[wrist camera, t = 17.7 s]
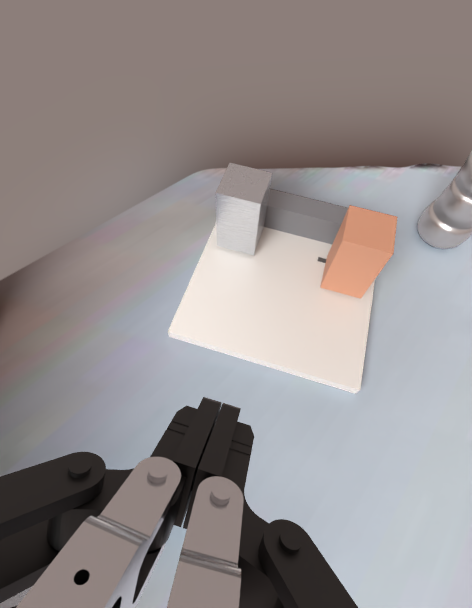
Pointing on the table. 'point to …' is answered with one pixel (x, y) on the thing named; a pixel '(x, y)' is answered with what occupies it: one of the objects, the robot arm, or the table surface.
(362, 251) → the tall salmon pillar
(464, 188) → the plastic bottle
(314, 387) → the table surface
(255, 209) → the brushed metal pillar
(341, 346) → the plate
